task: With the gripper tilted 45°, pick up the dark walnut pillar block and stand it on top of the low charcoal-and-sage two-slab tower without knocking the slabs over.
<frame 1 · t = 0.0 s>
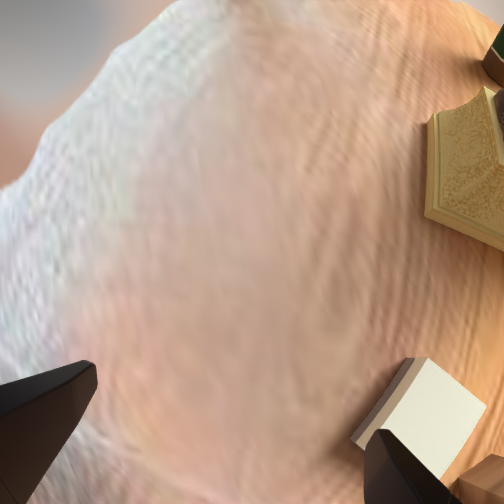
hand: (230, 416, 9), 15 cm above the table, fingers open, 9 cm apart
walnut pillar: (476, 481, 19), on the table
tower bottom block: (408, 420, 22), on the table, touching tower top block
tower top block: (420, 424, 20), point 1 cm above the table, touching tower bottom block
beer bottle: (497, 75, 36), on the table
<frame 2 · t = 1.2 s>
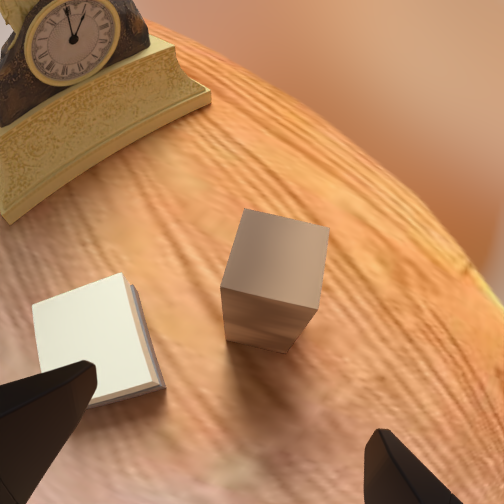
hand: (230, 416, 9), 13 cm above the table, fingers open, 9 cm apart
walnut pillar: (262, 319, 24), on the table
tower bottom block: (106, 353, 22), on the table, touching tower top block
tower top block: (94, 347, 21), point 1 cm above the table, touching tower bottom block
decorative clock: (92, 132, 34), on the table
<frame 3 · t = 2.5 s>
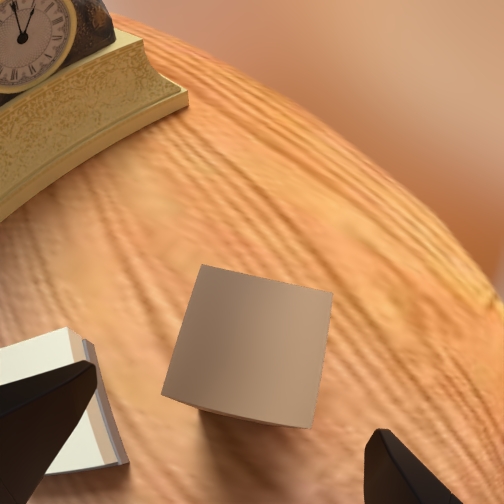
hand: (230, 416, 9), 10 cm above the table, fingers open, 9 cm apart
walnut pillar: (244, 383, 18), on the table
tower bottom block: (62, 415, 16), on the table, touching tower top block
tower top block: (44, 410, 15), point 1 cm above the table, touching tower bottom block
decorative clock: (56, 143, 29), on the table
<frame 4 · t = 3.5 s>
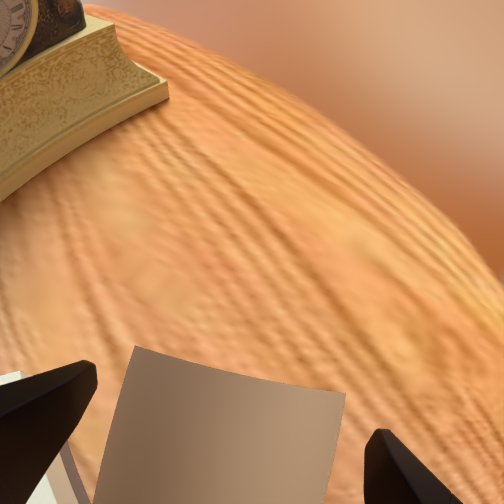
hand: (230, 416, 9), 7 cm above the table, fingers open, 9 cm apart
walnut pillar: (226, 442, 14), on the table
tower bottom block: (26, 462, 12), on the table
tower top block: (6, 457, 10), point 1 cm above the table
decorative clock: (24, 145, 24), on the table
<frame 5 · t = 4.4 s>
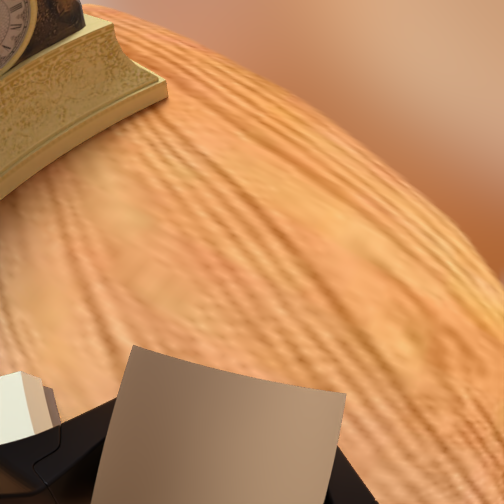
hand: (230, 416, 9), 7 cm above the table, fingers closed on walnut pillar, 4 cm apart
walnut pillar: (226, 443, 14), on the table, touching gripper
tower bottom block: (25, 462, 12), on the table, touching tower top block
tower top block: (7, 458, 10), point 1 cm above the table, touching tower bottom block
decorative clock: (23, 144, 24), on the table
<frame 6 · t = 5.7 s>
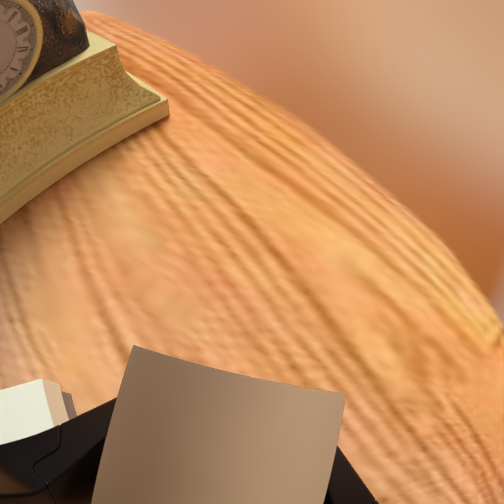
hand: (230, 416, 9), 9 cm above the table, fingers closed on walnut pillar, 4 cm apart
walnut pillar: (226, 443, 14), point 2 cm above the table, touching gripper
tower top block: (29, 457, 12), point 1 cm above the table
decorative clock: (31, 159, 26), on the table
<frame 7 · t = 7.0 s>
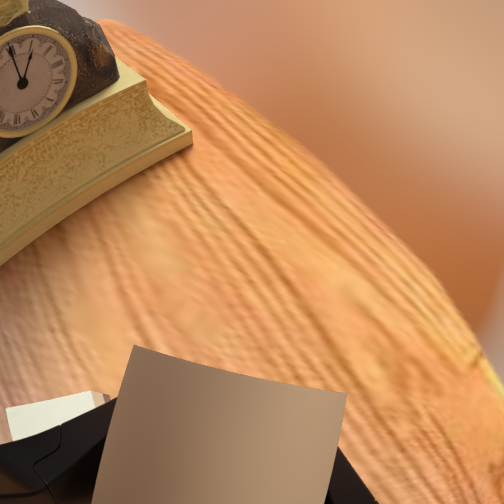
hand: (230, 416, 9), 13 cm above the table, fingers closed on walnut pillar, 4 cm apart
walnut pillar: (226, 442, 14), point 7 cm above the table, touching gripper
tower top block: (72, 454, 16), point 1 cm above the table, touching tower bottom block
decorative clock: (62, 177, 31), on the table
when the fingers open (12 cm above the table, at t = 9.7 s): walnut pillar drops 2 cm, point 3 cm above the table.
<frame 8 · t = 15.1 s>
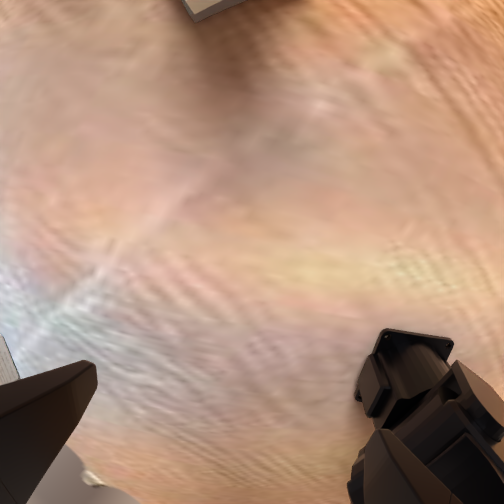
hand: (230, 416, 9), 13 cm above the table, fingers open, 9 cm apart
skincare box: (2, 352, 28), on the table
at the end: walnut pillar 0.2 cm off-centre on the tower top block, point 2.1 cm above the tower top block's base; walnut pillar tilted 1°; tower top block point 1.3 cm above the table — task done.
